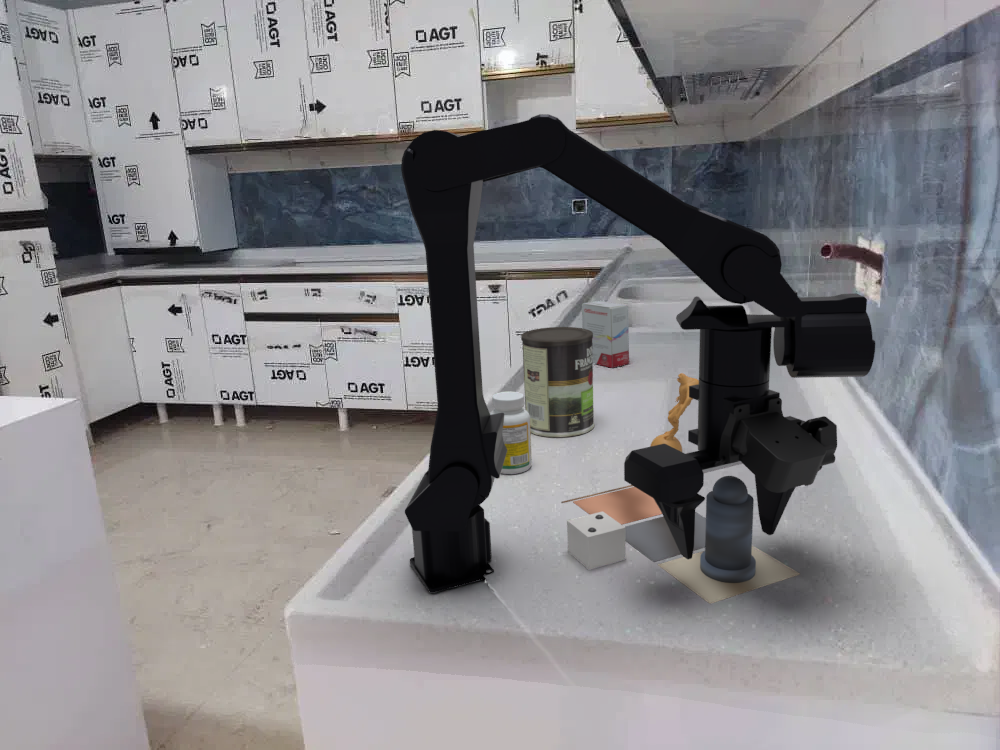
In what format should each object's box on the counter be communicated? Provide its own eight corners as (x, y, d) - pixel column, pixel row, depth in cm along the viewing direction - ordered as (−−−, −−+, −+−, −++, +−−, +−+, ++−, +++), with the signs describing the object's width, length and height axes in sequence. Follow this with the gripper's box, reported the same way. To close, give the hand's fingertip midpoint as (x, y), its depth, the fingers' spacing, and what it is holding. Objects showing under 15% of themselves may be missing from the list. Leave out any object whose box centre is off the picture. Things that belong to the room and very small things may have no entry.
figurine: (651, 452, 98) (652, 364, 95) (698, 454, 97) (701, 365, 94) (647, 476, 91) (647, 381, 88) (698, 479, 89) (700, 382, 86)
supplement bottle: (523, 477, 92) (520, 403, 90) (483, 472, 94) (479, 400, 92) (537, 461, 97) (535, 391, 95) (499, 457, 99) (496, 388, 97)
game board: (706, 617, 62) (706, 611, 61) (561, 505, 84) (561, 500, 84) (815, 581, 66) (815, 575, 66) (650, 484, 88) (650, 479, 88)
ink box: (630, 364, 144) (630, 304, 141) (611, 368, 141) (611, 307, 138) (600, 357, 151) (599, 299, 148) (582, 361, 148) (581, 302, 145)
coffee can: (603, 418, 113) (602, 327, 109) (581, 441, 104) (579, 342, 100) (540, 413, 117) (537, 325, 114) (513, 434, 108) (509, 339, 105)
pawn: (724, 588, 65) (727, 492, 62) (689, 563, 69) (690, 473, 67) (767, 574, 66) (771, 480, 64) (730, 551, 71) (733, 463, 68)
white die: (589, 576, 69) (588, 534, 68) (568, 557, 73) (566, 517, 71) (625, 565, 70) (625, 524, 69) (603, 548, 74) (602, 509, 73)
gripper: (707, 422, 52) (702, 618, 56) (895, 382, 59) (879, 558, 63) (620, 386, 62) (621, 555, 66) (790, 356, 69) (782, 509, 73)
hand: (728, 545), depth 67 cm, fingers open, 9 cm apart
